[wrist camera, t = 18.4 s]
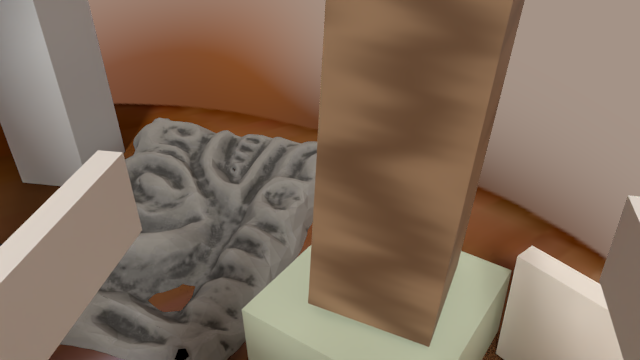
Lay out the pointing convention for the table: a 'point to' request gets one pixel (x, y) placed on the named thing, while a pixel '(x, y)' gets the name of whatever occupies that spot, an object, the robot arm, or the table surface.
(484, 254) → the table surface
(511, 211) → the table surface
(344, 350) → the sage base block
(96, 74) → the grey plastic block
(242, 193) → the wall plaque
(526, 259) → the card
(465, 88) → the walnut block
